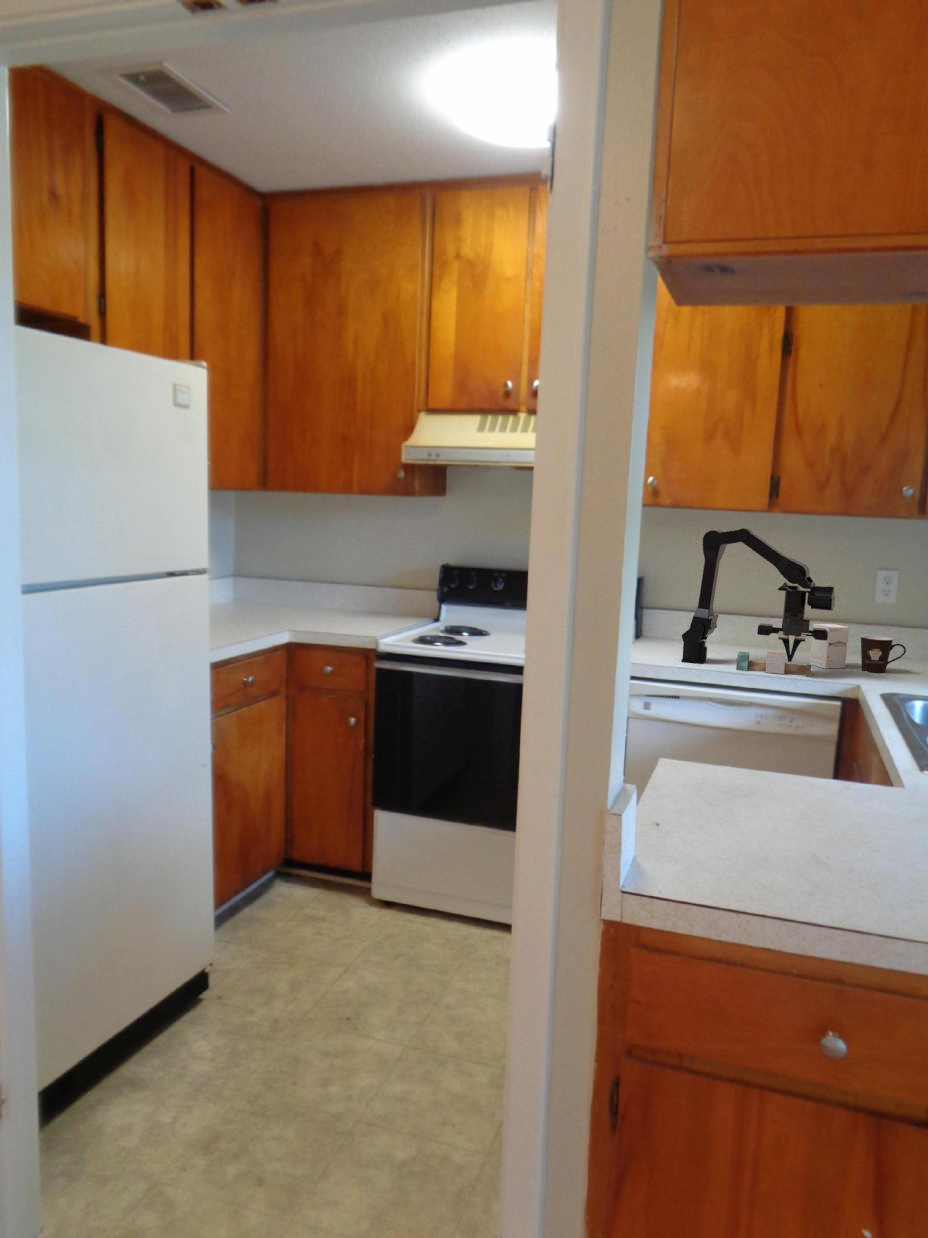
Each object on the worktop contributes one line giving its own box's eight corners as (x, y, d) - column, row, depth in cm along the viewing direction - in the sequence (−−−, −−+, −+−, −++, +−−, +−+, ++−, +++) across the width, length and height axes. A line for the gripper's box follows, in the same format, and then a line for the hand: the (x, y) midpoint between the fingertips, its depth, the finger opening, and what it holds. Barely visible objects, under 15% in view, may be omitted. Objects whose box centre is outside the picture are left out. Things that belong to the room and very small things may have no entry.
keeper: (765, 672, 256) (766, 654, 255) (766, 668, 262) (767, 651, 261) (783, 673, 254) (785, 656, 253) (784, 670, 260) (785, 653, 260)
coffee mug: (852, 670, 266) (855, 636, 264) (866, 667, 271) (869, 634, 270) (891, 676, 257) (894, 642, 256) (905, 673, 262) (908, 640, 261)
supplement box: (824, 668, 266) (828, 626, 264) (809, 664, 273) (812, 623, 272) (845, 668, 268) (849, 626, 266) (829, 664, 275) (833, 623, 274)
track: (736, 670, 258) (737, 654, 258) (737, 666, 265) (738, 651, 264) (810, 677, 251) (811, 661, 251) (810, 673, 258) (811, 657, 257)
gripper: (758, 607, 250) (754, 662, 252) (830, 613, 244) (825, 669, 246) (760, 603, 260) (756, 656, 262) (829, 609, 254) (824, 663, 256)
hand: (789, 661), depth 256 cm, fingers closed
